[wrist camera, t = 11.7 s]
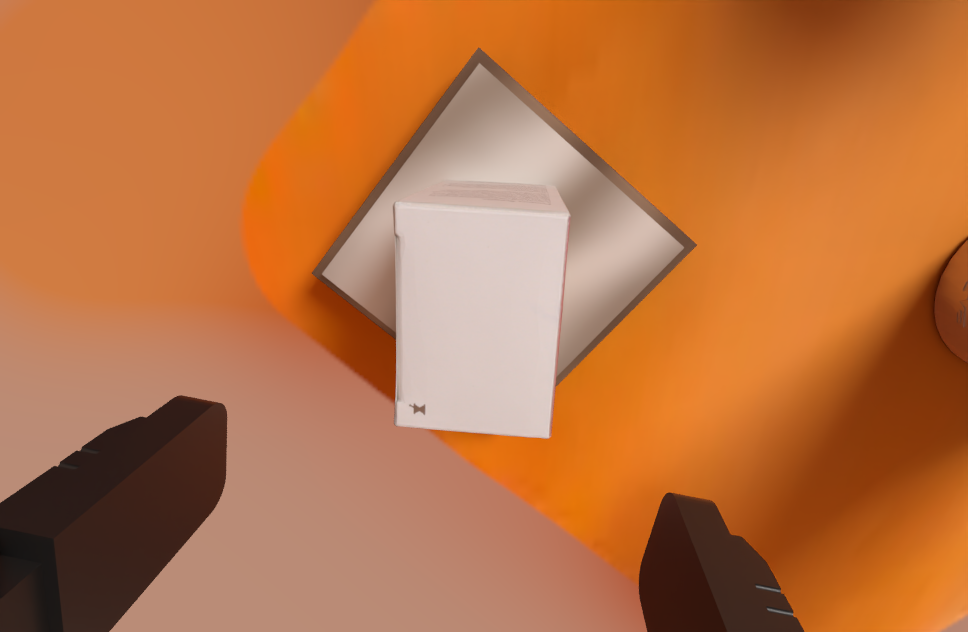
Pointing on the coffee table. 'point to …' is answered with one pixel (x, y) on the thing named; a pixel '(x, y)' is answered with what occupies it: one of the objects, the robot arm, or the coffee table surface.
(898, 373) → the coffee table surface
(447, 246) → the small box
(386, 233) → the tray
